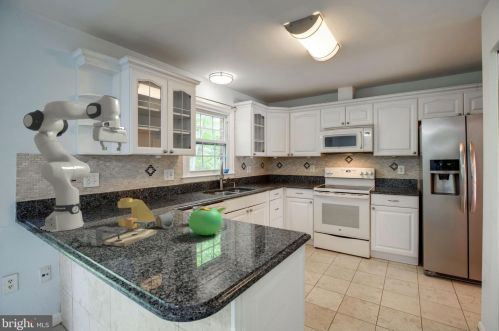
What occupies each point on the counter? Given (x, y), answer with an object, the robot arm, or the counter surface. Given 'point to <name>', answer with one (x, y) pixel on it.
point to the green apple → (206, 220)
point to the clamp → (135, 210)
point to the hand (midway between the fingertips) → (112, 150)
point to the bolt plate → (130, 237)
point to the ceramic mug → (165, 220)
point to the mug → (197, 208)
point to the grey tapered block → (107, 235)
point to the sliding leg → (134, 223)
